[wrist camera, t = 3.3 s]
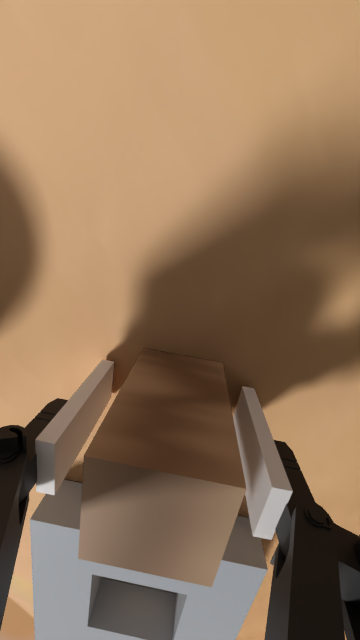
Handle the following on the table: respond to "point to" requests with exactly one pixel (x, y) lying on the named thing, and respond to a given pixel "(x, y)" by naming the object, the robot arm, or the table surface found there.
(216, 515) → the peg
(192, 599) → the housing
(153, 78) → the table surface
